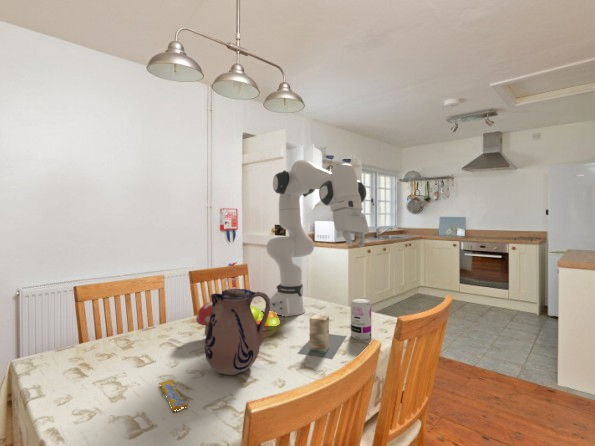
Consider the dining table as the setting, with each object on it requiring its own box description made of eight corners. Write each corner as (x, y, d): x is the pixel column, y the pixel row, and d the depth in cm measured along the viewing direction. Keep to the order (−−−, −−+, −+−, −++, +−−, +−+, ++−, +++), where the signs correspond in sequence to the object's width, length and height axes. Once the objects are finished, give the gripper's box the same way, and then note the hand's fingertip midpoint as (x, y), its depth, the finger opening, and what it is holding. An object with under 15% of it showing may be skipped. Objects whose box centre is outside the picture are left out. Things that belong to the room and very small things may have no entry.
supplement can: (369, 333, 134) (369, 298, 134) (372, 341, 126) (372, 303, 126) (350, 333, 135) (350, 297, 135) (351, 340, 127) (351, 303, 126)
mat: (297, 354, 115) (297, 353, 115) (316, 332, 136) (316, 332, 136) (332, 359, 110) (332, 359, 110) (346, 337, 131) (346, 336, 131)
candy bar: (189, 411, 83) (189, 403, 83) (172, 416, 81) (172, 409, 81) (173, 383, 97) (173, 377, 97) (158, 387, 95) (158, 381, 95)
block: (309, 350, 117) (309, 318, 117) (313, 345, 121) (313, 314, 121) (325, 353, 115) (325, 320, 115) (329, 348, 119) (328, 316, 119)
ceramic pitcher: (203, 361, 110) (201, 289, 109) (262, 351, 117) (262, 284, 117) (207, 387, 94) (206, 302, 93) (276, 373, 101) (275, 295, 100)
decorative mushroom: (204, 348, 121) (204, 308, 121) (191, 337, 132) (190, 301, 131) (236, 339, 130) (235, 302, 129) (221, 330, 140) (220, 296, 140)
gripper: (353, 212, 123) (359, 248, 121) (327, 205, 107) (334, 246, 104) (369, 208, 120) (375, 245, 117) (344, 200, 103) (351, 243, 100)
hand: (355, 245), depth 110 cm, fingers open, 8 cm apart
